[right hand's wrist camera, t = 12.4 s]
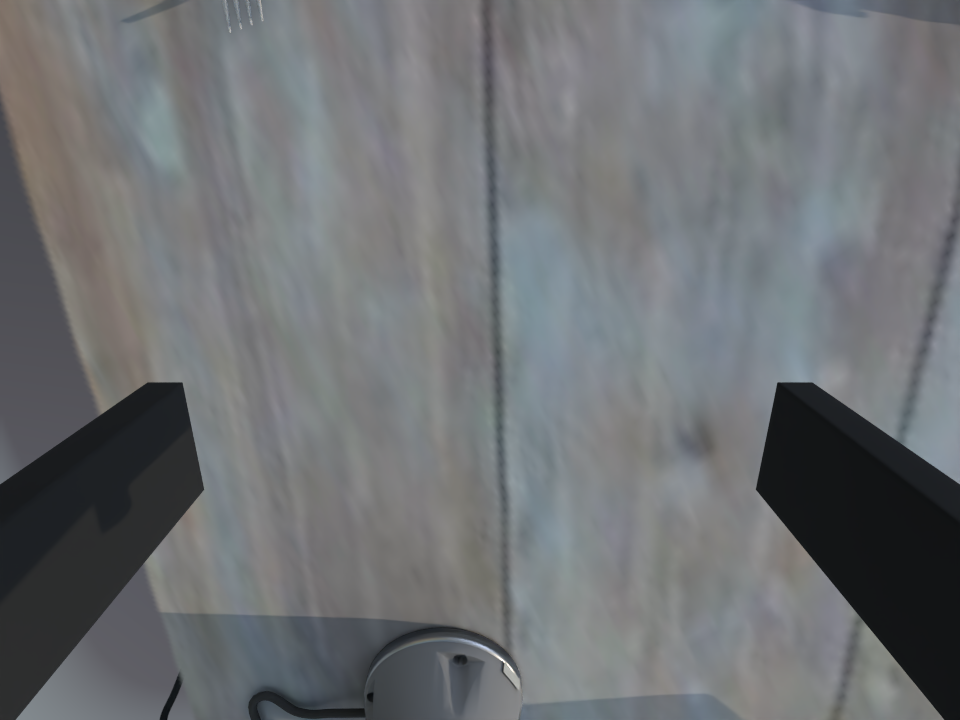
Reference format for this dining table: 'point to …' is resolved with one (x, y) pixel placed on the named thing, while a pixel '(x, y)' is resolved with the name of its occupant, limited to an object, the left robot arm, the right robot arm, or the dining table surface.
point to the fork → (236, 4)
